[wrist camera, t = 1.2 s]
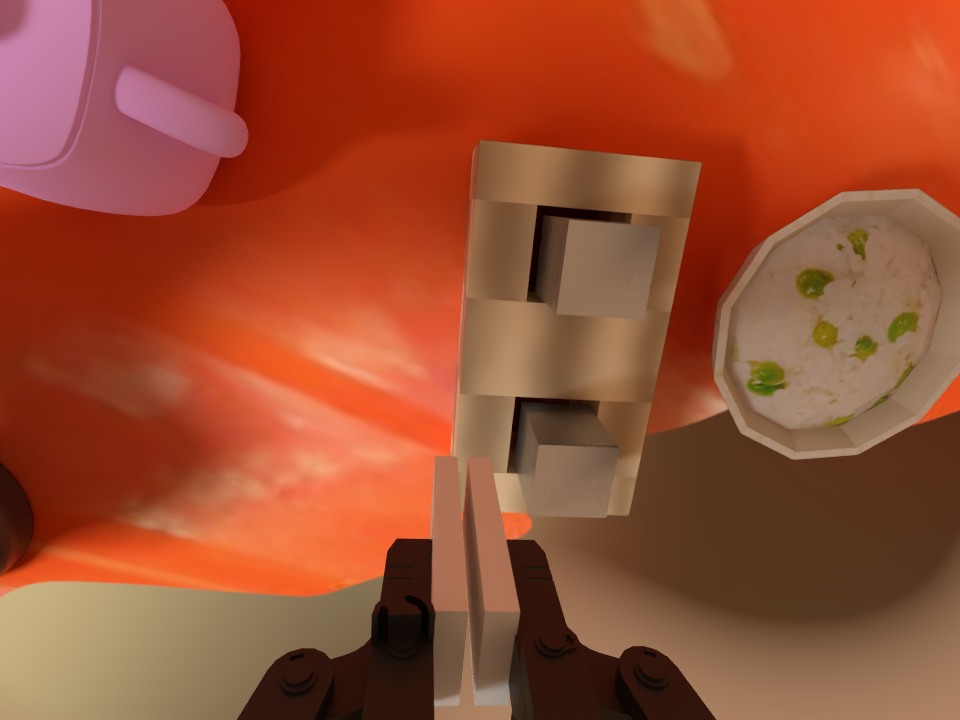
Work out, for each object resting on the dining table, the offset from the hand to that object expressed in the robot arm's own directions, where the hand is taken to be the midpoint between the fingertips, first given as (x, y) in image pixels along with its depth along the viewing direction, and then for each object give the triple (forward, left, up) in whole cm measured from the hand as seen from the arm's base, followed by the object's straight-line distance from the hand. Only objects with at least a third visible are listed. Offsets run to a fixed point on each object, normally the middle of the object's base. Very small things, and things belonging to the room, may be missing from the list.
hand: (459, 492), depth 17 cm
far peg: (+8, -7, -18) cm, 21 cm away
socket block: (+8, 0, -24) cm, 26 cm away
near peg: (+8, +7, -18) cm, 21 cm away
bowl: (+27, +3, -25) cm, 37 cm away
